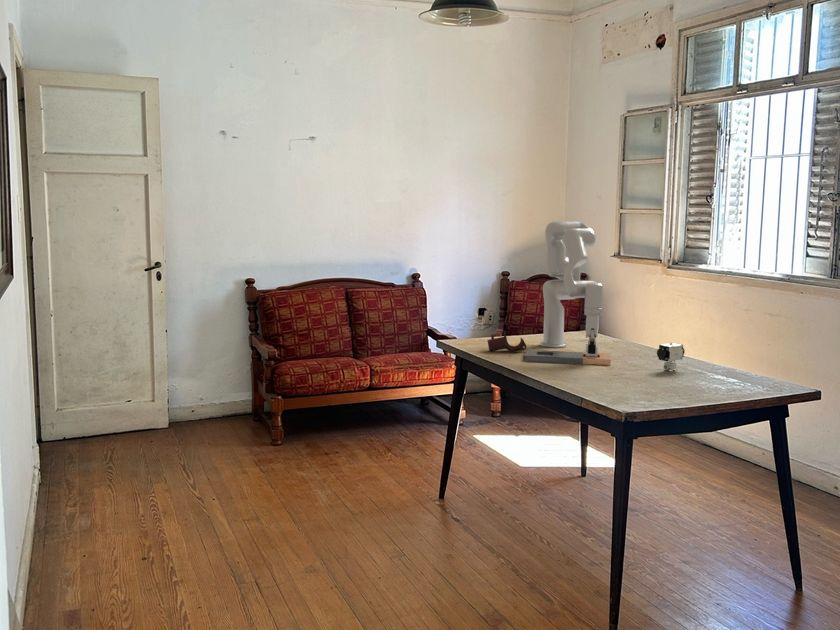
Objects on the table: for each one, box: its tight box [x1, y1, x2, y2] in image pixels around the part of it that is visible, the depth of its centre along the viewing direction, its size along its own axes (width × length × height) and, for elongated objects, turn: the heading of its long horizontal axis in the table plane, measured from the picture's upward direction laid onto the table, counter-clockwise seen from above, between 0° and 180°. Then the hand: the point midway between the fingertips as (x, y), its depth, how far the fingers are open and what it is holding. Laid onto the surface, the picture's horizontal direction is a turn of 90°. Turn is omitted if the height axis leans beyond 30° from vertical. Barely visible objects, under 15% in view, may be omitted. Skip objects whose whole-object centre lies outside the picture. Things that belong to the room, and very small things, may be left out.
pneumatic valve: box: [656, 341, 685, 371], centre depth 331 cm, size 6×12×12 cm, turn 122°
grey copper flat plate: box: [524, 349, 612, 366], centre depth 352 cm, size 14×36×2 cm, turn 78°
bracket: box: [487, 330, 528, 353], centre depth 371 cm, size 6×17×10 cm, turn 86°
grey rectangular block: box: [585, 343, 599, 357], centre depth 350 cm, size 5×5×7 cm
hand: (591, 351), depth 350 cm, fingers open, 7 cm apart
